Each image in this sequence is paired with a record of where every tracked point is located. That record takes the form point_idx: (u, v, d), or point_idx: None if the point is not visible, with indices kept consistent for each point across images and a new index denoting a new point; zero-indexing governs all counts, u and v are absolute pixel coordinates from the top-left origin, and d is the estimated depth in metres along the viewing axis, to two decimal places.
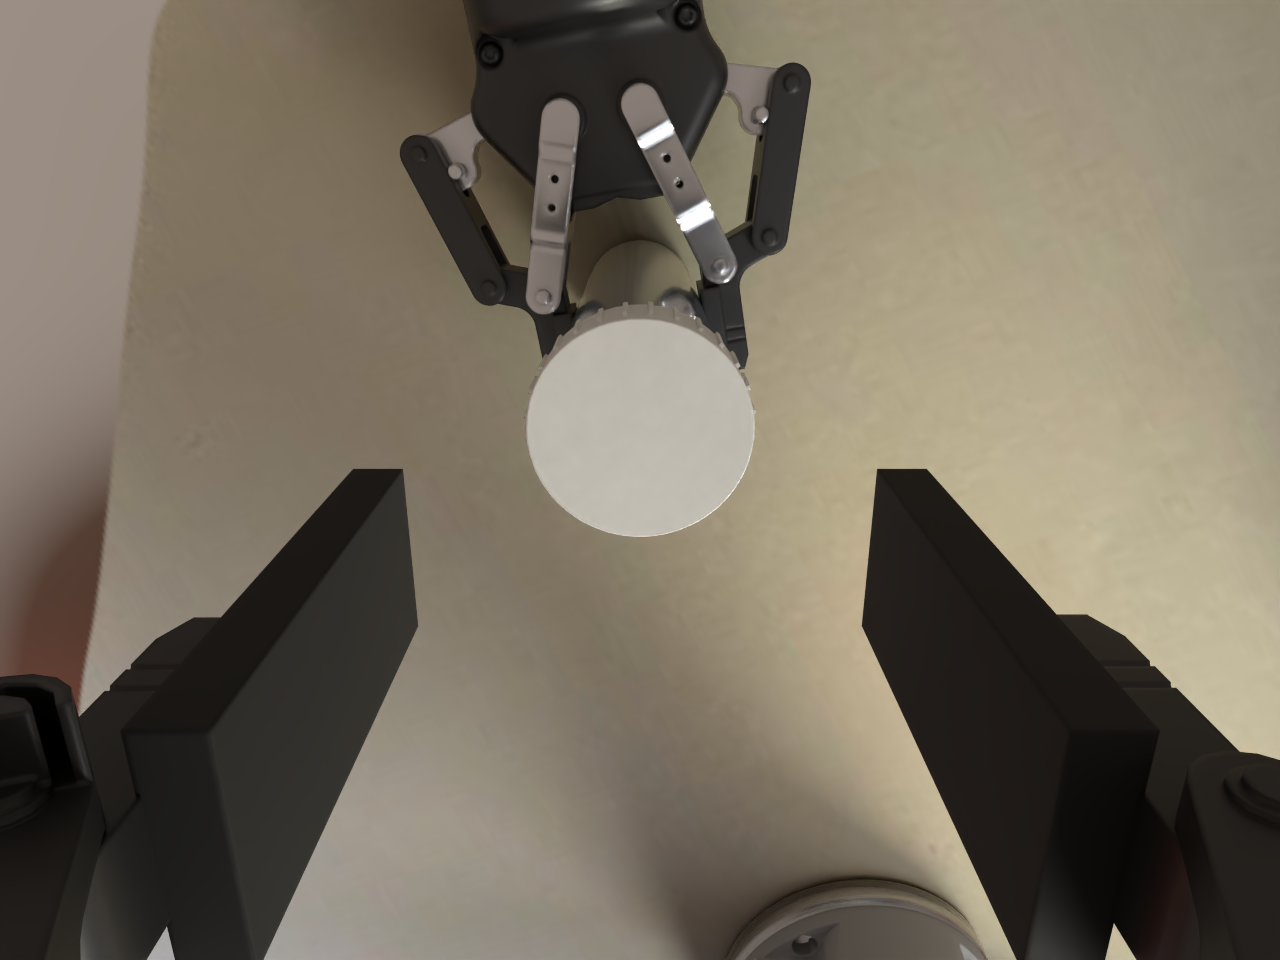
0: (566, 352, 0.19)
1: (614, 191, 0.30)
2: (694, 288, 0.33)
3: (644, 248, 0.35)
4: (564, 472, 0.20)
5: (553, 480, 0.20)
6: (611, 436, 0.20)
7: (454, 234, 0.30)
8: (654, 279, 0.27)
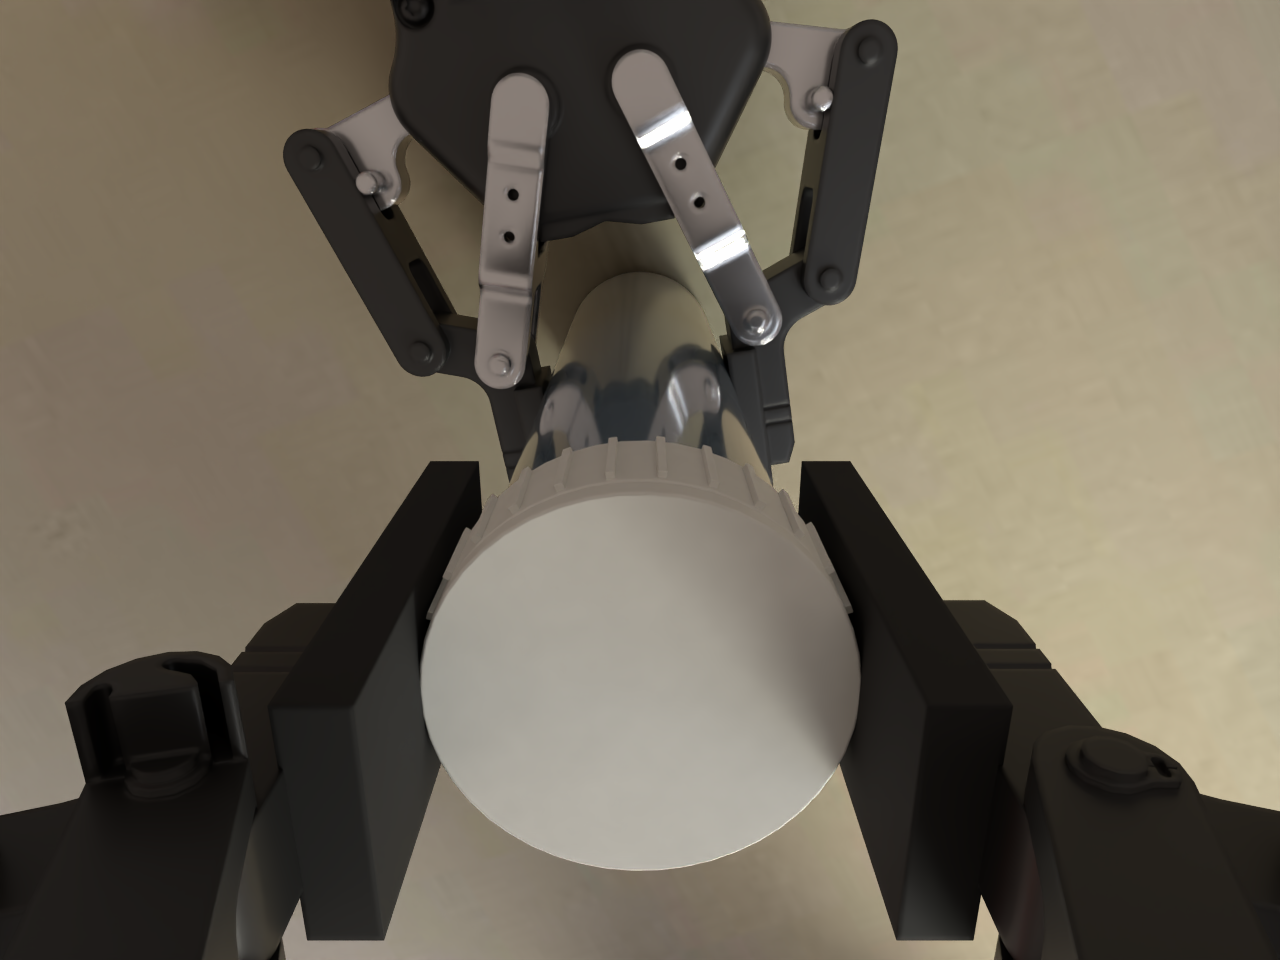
0: (494, 555, 0.10)
1: (602, 212, 0.20)
2: (717, 347, 0.23)
3: (646, 287, 0.25)
4: (496, 766, 0.11)
5: (476, 778, 0.11)
6: (585, 704, 0.10)
7: (368, 275, 0.21)
8: (662, 353, 0.17)
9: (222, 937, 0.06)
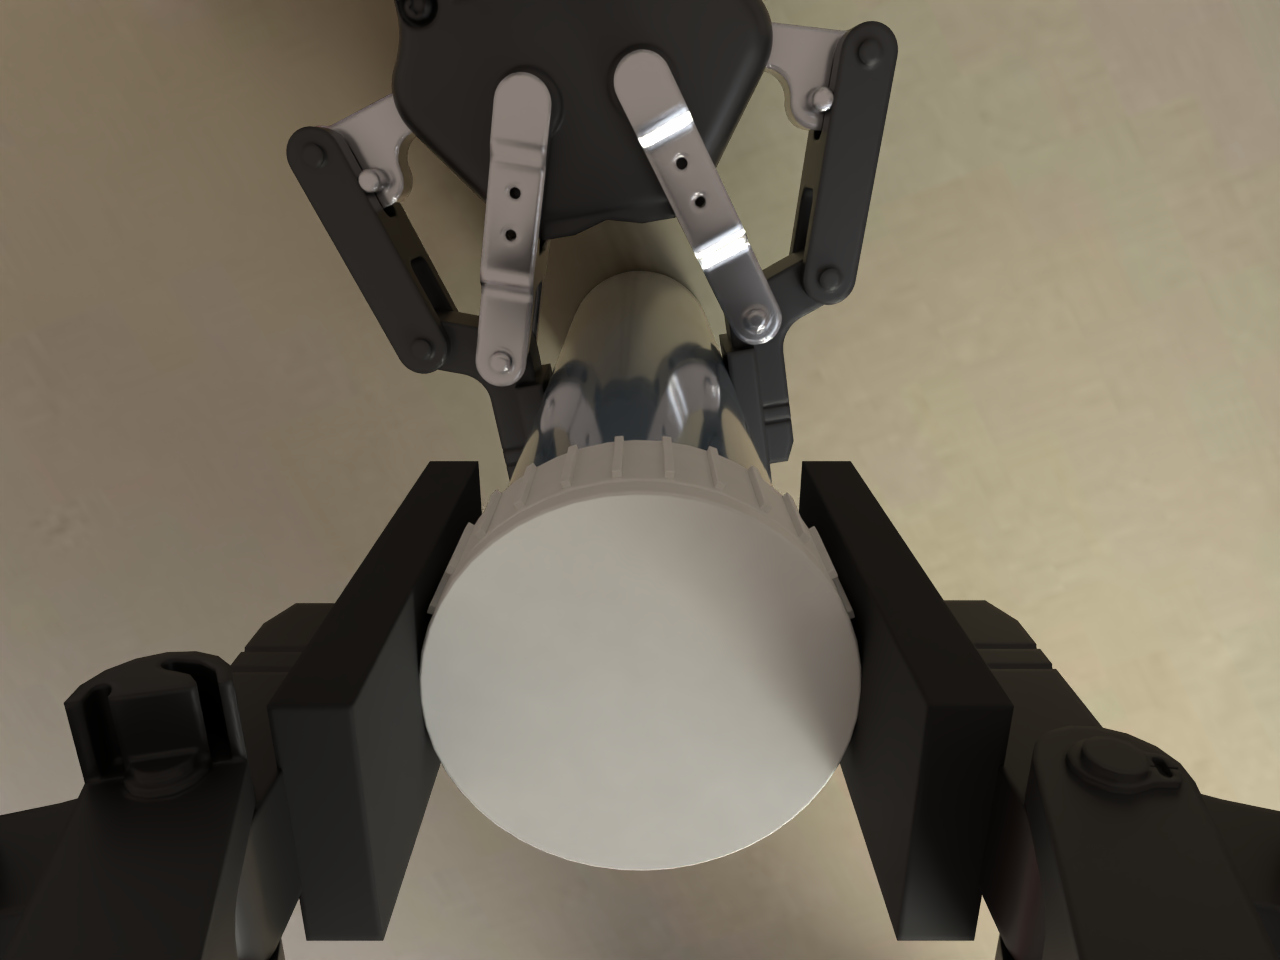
0: (520, 830, 0.11)
1: (603, 211, 0.20)
2: (717, 346, 0.23)
3: (646, 286, 0.25)
4: (744, 804, 0.11)
5: (763, 816, 0.11)
6: (658, 742, 0.10)
7: (370, 272, 0.21)
8: (663, 351, 0.17)
9: (222, 937, 0.06)
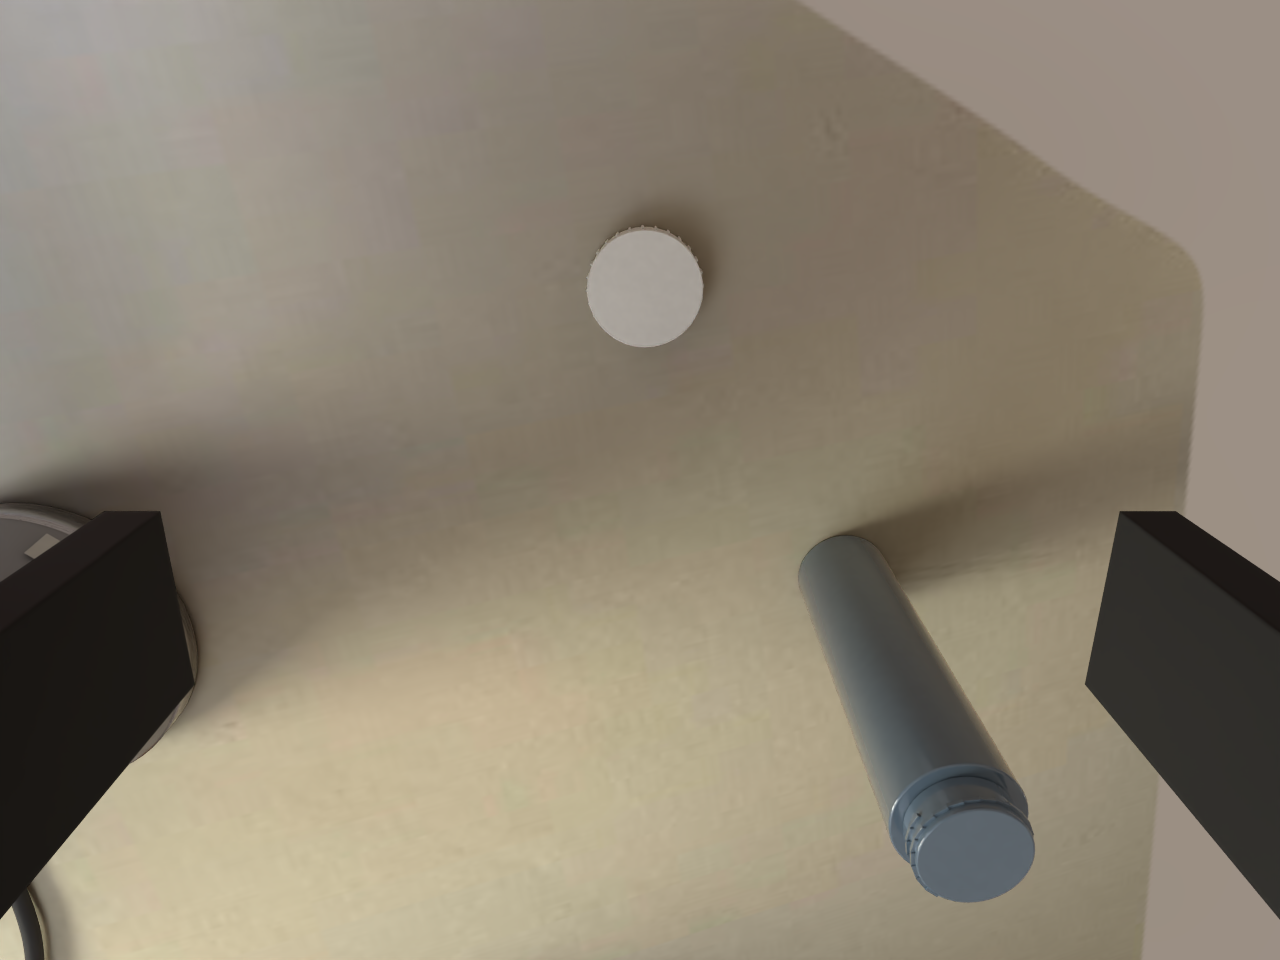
0: (659, 235, 0.38)
1: None
2: None
3: None
4: (605, 269, 0.39)
5: (598, 266, 0.39)
6: (635, 279, 0.39)
7: None
8: None
9: None
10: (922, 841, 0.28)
